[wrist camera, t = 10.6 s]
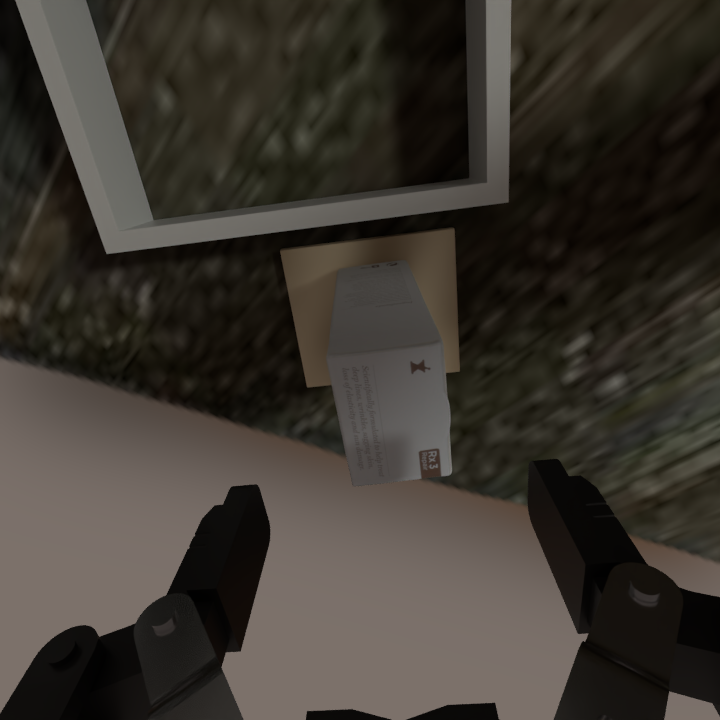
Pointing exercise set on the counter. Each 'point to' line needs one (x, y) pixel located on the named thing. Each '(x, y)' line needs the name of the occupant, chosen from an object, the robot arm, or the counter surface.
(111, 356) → the counter surface
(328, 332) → the mat
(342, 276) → the skincare box
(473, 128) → the case
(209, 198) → the counter surface
